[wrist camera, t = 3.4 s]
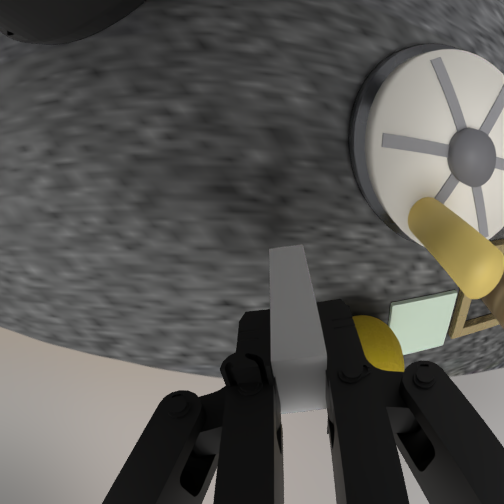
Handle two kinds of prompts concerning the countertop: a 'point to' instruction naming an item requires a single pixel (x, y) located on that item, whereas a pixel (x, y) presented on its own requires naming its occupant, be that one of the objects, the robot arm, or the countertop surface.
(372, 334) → the lemon
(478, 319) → the square gold frame
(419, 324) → the coaster
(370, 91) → the wheel base
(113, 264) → the countertop surface
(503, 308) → the dowel
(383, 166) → the handwheel
